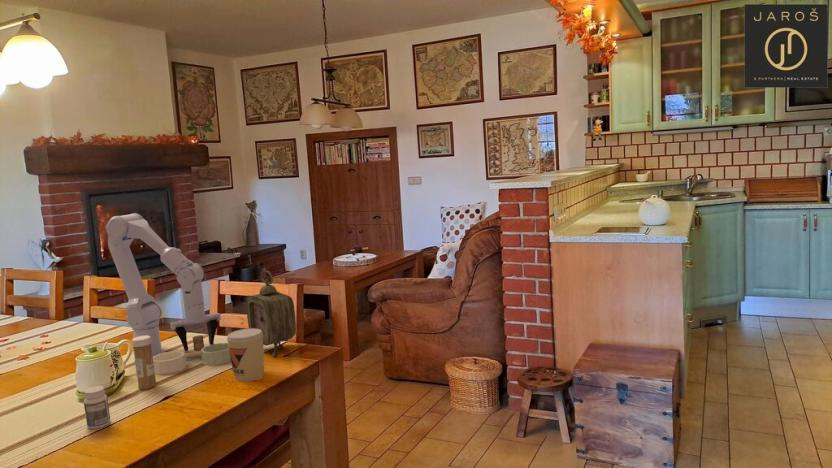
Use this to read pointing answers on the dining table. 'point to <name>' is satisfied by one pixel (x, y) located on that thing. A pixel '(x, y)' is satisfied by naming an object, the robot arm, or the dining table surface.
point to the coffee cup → (246, 354)
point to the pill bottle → (96, 407)
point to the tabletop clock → (271, 314)
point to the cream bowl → (169, 362)
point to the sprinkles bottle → (144, 362)
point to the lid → (195, 347)
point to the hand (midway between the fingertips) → (198, 347)
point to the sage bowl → (215, 354)
